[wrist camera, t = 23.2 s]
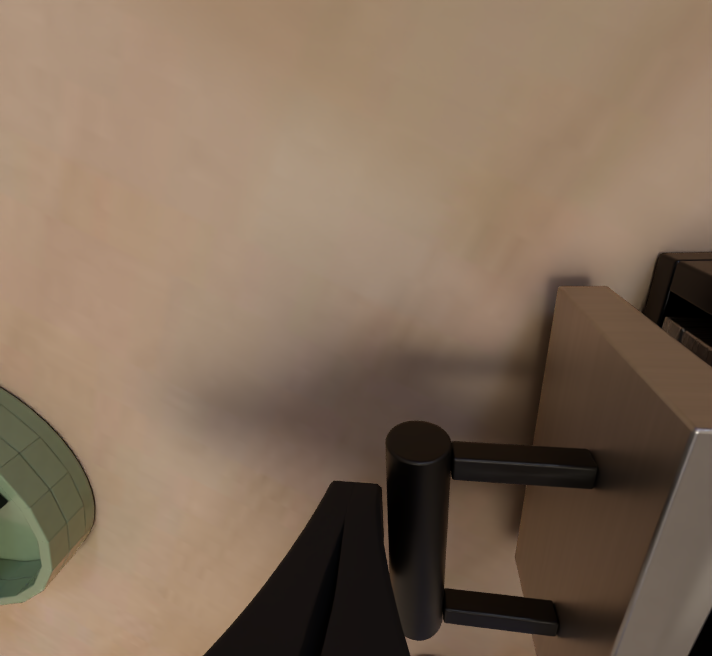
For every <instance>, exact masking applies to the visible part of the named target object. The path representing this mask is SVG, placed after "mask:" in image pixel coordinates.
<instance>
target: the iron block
mask: <svg viewBox="0 0 712 656" xmlns="http://www.w3.org/2000/svg"><path fill="white" fill-rule="evenodd" d="M7 503H8V501H7V500H6V499H5V498H4V497H3V496H1V495H0V509H1V508H2V507H4V506H5V505H6V504H7Z"/></svg>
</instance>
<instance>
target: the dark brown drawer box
mask: <svg viewBox="0 0 712 656" xmlns="http://www.w3.org/2000/svg"><path fill="white" fill-rule="evenodd" d="M644 315H645V316H646V317H648V318H649V319H650V320H651V321H653V322H654V323H655V324H657V325H658V326H659V327H660V328H662V326H663V322H664V319H665V317H712V252H694V253H662V254H660V256H659V259H658V263H657V267H656V271H655V275H654V279H653V282H652V286H651V290H650V294H649V298H648V302H647V305H646V309H645V313H644Z"/></svg>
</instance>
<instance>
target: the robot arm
mask: <svg viewBox="0 0 712 656" xmlns="http://www.w3.org/2000/svg"><path fill="white" fill-rule="evenodd" d="M203 656H410V653H409V649H408V646H407V643H406V639H405V636H404V632H403V628H402V625H401V621H400V617H399V613H398V609H397V605H396V601H395V597H394V593H393V588H392V584H391V579H390V575H389V570H388V564H387V559H386V553H385V547H384V528H383V504H382V487H380V486H379V485H378V484H373V483H359V482H345V481H333V482H332V483H331V484H330V485H329V487H328V489H327V491H326V493H325V495H324V497H323V498H322V500H321V502H320V504H319V505H318V507H317V509H316V510H315V512H314V514H313V515H312V517H311V519H310V520H309V522H308V523H307V525H306V527H305V528H304V530H303V531H302V533H301V534H300V536H299V537H298V539H297V540H296V542H295V543H294V545H293V546H292V548H291V549H290V550H289V552H288V553H287V555H286V556H285V558H284V559H283V560H282V562H281V563H280V564H279V566H278V567H277V568H276V570H275V571H274V572H273V574H272V575H271V576H270V578H269V579H268V580H267V582H266V583H265V585H264V586H263V587H262V588H261V590H260V591H259V592H258V593H257V595H256V596H255V597H254V598H253V600H252V601H251V602H250V603H249V605H248V606H247V607H246V608H245V609H244V611H243V612H242V613H241V614H240V615H239V616H238V618H237V619H236V620H235V621H234V622H233V624H232V625H231V626H230V627H229V628H228V629H227V630H226V632H225V633H224V634H223V635H222V636H221V637H220V638H219V639H218V640H217V641H216V642H215V643H214V645H213V646H212V647H211V648H210V649H209V650H208V651H207V652H206V653H205V654H204V655H203Z"/></svg>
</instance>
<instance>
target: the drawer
mask: <svg viewBox="0 0 712 656" xmlns="http://www.w3.org/2000/svg"><path fill="white" fill-rule="evenodd" d="M450 473H451V477H452V479H454V480H464V481H478V482H492V483H506V484H520V485H526V491H525V497H524V503H523V509H522V516H521V522H520V528H519V534H518V541H517V547H516V553H515V560H516V565H517V569H518V574H519V578H520V583H521V587H522V592H523V596H524V597H518V596H509V595H500V594H491V593H482V592H474V591H465V590H456V589H447V588H445V589H444V581H445V563H446V545H447V527H448V509H449V491H450ZM386 475H387V507H388V539H389V571H390V579H391V584H392V588H393V593H394V597H395V601H396V605H397V609H398V613H399V617H400V621H401V625H402V628H403V632H404V636H406V637H407V638H409V639H412V640H417V641H421V640H426V639H429V638H431V637H432V636H434V635H435V634H436V633H437V632H438V630H439V628H440V626H441V623H442V617H443V620H444V622H445V623H450V624H457V625H465V626H473V627H481V628H489V629H497V630H505V631H513V632H521V633H528V634H532V637H533V641H534V646H535V650H536V655H537V656H712V317H665V319H664V322H663V326H662V328H660V327H659V326H658V325H657V324H655V323H654V322H653V321H651V320H650V319H649V318H648V317H646V316H645V315H644V314H642V313H641V312H640V311H639V310H637V309H636V308H635V307H633V306H632V305H631V304H629V303H628V302H627V301H626V300H624V299H623V298H622V297H620V296H619V295H618V294H617V293H615V292H614V291H613V290H611V289H610V288H609V287H607V286H561V287H559V288H558V292H557V298H556V304H555V310H554V316H553V323H552V329H551V335H550V341H549V348H548V354H547V360H546V366H545V372H544V379H543V385H542V391H541V397H540V404H539V410H538V416H537V422H536V429H535V435H534V441H533V446H532V445H514V444H496V443H478V442H460V441H453V442H452V443H451V440H450V437H449V436H448V434H447V433H446V432H445V431H444V430H443V429H442V428H441V427H439V426H437V425H435V424H432V423H429V422H425V421H408V422H404V423H401V424H399V425H397V426H395V427H394V428H392V429H391V430H390V432H389V433H388V435H387V437H386Z"/></svg>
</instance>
